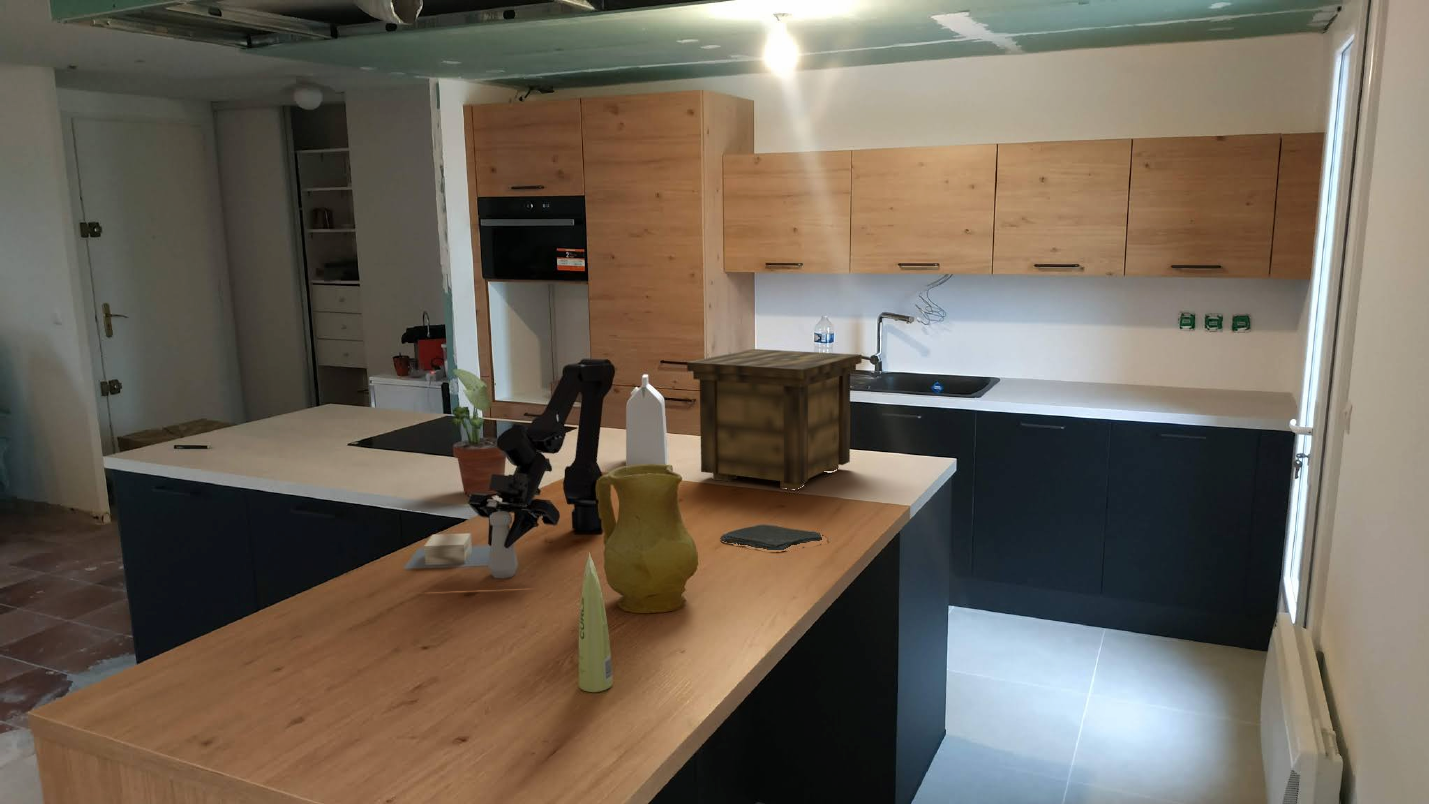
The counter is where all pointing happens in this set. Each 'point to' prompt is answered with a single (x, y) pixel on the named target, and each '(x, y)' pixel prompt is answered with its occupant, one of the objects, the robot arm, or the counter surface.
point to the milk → (646, 427)
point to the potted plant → (476, 440)
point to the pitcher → (645, 538)
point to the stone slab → (770, 537)
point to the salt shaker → (501, 547)
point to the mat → (476, 558)
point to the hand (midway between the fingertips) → (497, 546)
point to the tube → (593, 635)
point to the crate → (774, 414)
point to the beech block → (448, 549)
